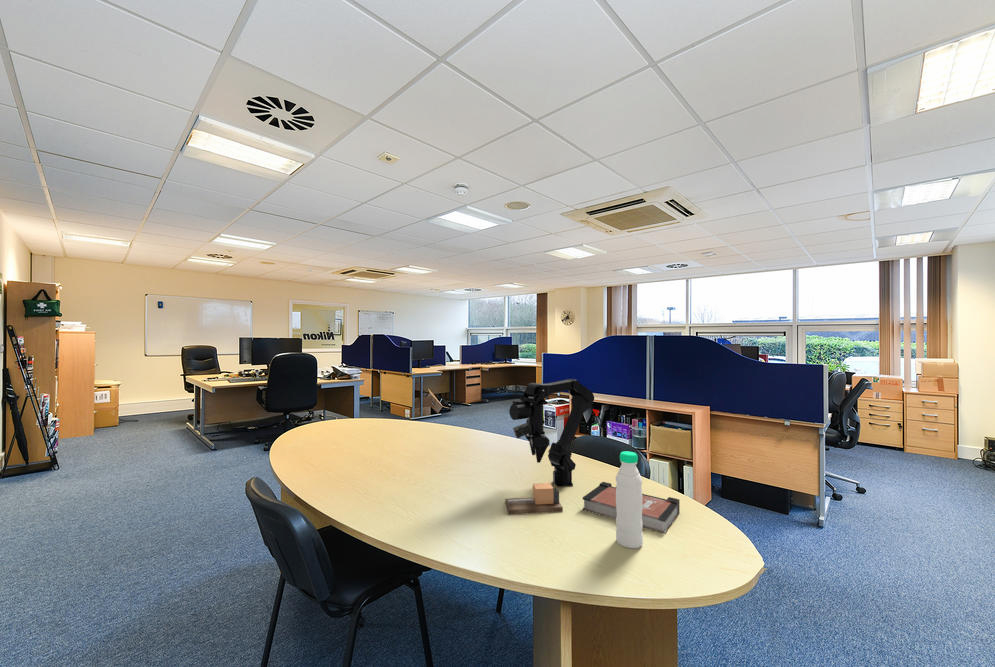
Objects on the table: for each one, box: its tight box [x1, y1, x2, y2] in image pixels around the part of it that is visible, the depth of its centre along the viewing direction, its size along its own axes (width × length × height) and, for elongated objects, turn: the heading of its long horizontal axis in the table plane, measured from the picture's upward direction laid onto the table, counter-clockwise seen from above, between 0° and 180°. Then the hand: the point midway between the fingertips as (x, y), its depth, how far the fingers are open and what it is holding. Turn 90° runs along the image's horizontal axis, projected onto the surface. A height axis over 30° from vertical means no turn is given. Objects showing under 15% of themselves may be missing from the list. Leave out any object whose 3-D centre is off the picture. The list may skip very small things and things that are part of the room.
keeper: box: [532, 482, 554, 505], centre depth 133 cm, size 6×5×5 cm
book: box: [582, 481, 681, 534], centre depth 129 cm, size 26×18×5 cm
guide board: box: [504, 496, 564, 515], centre depth 133 cm, size 18×9×2 cm, turn 96°
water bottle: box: [615, 450, 644, 549], centre depth 110 cm, size 7×7×25 cm
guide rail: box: [508, 487, 560, 505], centre depth 133 cm, size 17×4×4 cm, turn 96°
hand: (535, 458), depth 147 cm, fingers open, 9 cm apart
